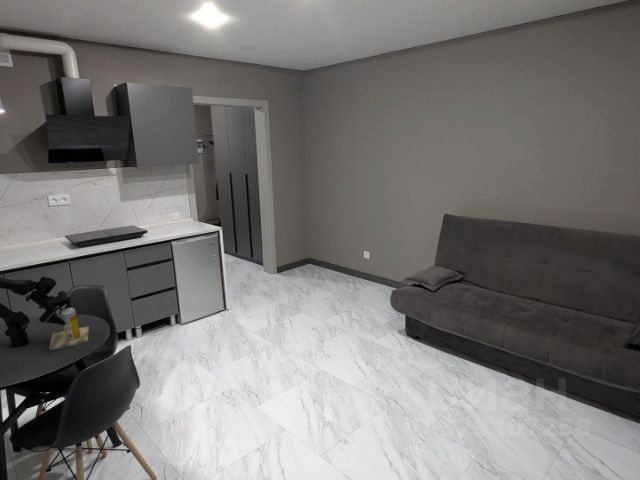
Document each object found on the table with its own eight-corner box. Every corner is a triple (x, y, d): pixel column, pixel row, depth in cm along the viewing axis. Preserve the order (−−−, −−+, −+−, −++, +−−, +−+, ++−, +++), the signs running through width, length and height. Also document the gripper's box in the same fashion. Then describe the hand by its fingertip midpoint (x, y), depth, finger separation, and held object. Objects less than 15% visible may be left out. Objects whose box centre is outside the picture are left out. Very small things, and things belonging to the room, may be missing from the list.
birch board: (49, 350, 191) (48, 347, 191) (53, 336, 205) (53, 333, 205) (88, 341, 198) (87, 339, 198) (89, 328, 212) (89, 325, 212)
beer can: (82, 333, 203) (76, 306, 199) (78, 339, 197) (72, 311, 193) (69, 335, 202) (62, 308, 198) (64, 341, 196) (58, 313, 192)
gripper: (40, 296, 184) (69, 317, 187) (64, 281, 202) (90, 301, 205) (26, 312, 185) (55, 333, 189) (51, 296, 204) (77, 316, 207)
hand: (71, 320), depth 197 cm, fingers open, 9 cm apart
